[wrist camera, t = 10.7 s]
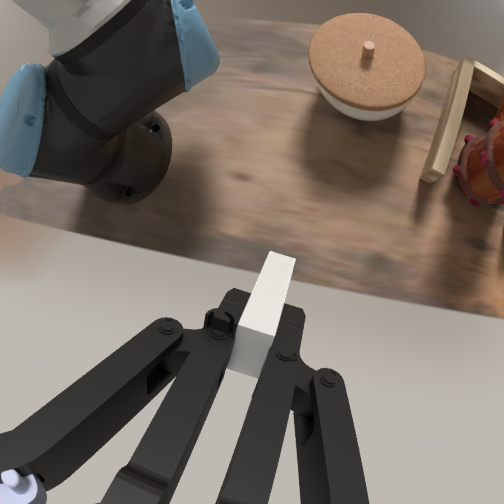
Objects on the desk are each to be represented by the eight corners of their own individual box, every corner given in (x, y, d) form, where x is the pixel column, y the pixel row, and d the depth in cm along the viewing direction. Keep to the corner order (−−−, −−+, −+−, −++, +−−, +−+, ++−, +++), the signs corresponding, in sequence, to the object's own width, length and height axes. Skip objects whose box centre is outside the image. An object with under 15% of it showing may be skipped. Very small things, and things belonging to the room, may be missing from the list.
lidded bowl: (323, 44, 37) (315, -6, 26) (413, 63, 34) (429, 17, 23) (307, 123, 38) (295, 85, 27) (405, 145, 35) (426, 114, 24)
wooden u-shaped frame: (419, 178, 35) (432, 168, 29) (451, 75, 32) (464, 54, 27) (511, 233, 32) (533, 232, 26) (536, 129, 29) (556, 117, 23)
